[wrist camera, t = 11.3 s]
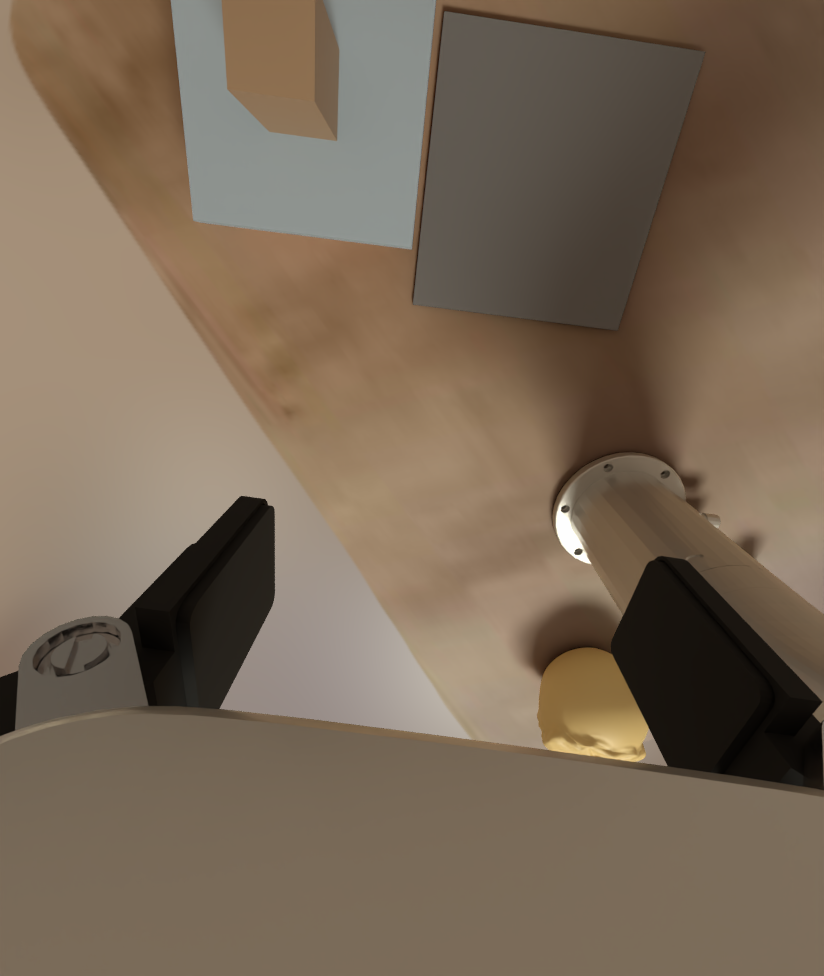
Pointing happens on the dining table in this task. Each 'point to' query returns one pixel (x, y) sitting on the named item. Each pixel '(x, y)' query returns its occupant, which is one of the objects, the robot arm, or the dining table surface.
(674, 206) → the dining table surface
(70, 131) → the dining table surface
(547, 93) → the mat
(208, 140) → the lid
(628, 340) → the dining table surface
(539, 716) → the sculpture
